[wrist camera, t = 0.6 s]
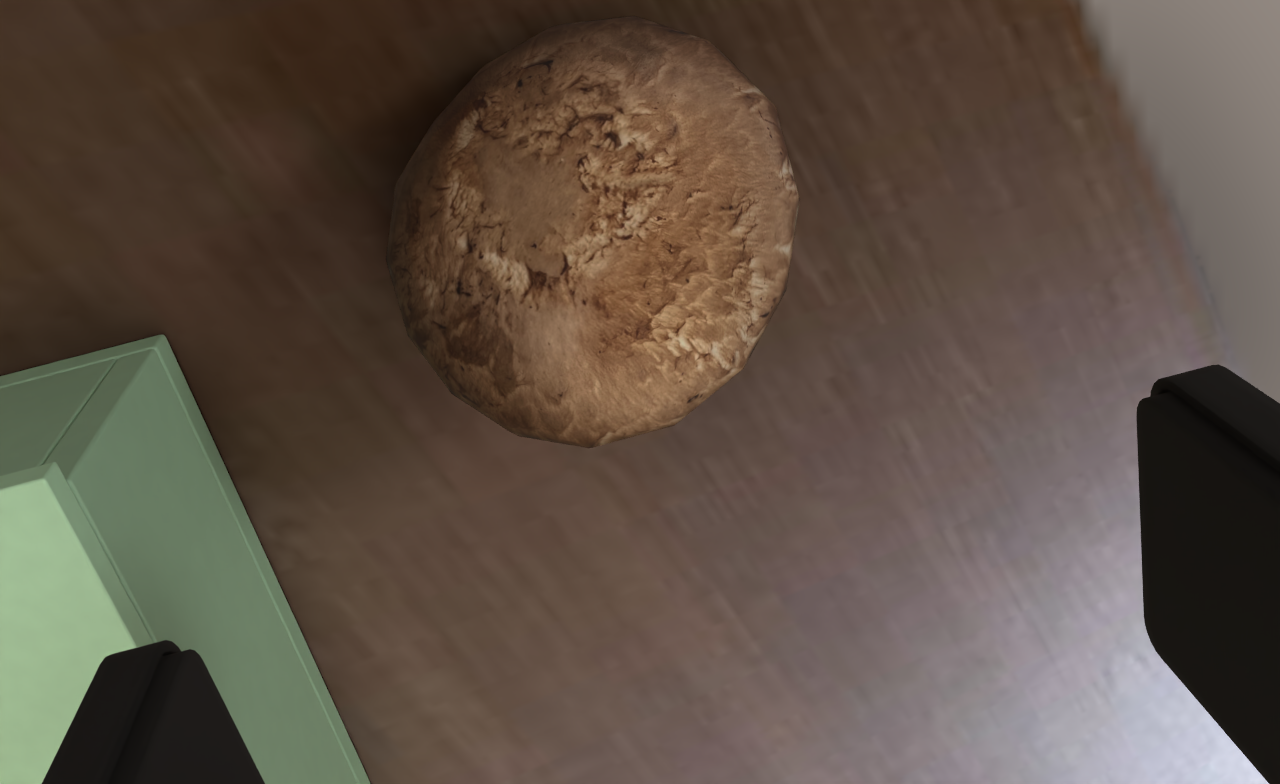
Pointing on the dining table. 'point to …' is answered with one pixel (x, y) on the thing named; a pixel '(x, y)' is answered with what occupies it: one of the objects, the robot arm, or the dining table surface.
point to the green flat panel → (51, 618)
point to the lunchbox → (180, 542)
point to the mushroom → (595, 231)
